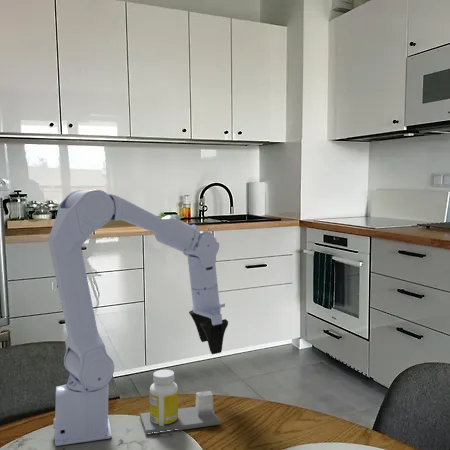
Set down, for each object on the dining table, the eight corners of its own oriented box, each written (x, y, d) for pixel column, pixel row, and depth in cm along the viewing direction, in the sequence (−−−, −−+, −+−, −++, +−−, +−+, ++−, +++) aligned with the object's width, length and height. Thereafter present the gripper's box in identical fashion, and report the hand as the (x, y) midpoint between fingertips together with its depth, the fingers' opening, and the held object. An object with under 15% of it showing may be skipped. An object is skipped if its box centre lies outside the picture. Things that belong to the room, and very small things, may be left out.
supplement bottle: (180, 417, 89) (180, 368, 88) (174, 431, 83) (175, 379, 83) (153, 416, 89) (153, 367, 89) (146, 429, 84) (146, 378, 83)
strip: (145, 434, 81) (146, 408, 81) (140, 417, 88) (140, 393, 88) (219, 424, 86) (219, 399, 86) (208, 408, 93) (209, 385, 92)
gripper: (233, 290, 91) (239, 354, 93) (211, 276, 104) (217, 332, 106) (199, 297, 89) (207, 362, 90) (182, 281, 102) (189, 338, 104)
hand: (210, 346), depth 98 cm, fingers open, 7 cm apart
